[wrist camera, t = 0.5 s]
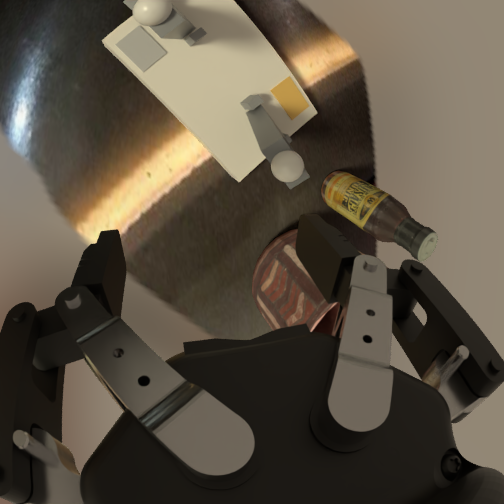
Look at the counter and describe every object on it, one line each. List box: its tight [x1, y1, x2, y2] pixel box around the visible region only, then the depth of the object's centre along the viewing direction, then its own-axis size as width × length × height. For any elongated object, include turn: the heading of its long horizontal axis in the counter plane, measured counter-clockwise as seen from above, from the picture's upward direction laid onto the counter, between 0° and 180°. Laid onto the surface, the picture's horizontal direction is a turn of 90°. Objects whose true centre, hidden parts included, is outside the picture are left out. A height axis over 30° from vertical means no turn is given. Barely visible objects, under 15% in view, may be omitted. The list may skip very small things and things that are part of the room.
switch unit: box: [102, 0, 317, 182], centre depth 26 cm, size 14×24×5 cm, turn 38°
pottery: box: [252, 229, 389, 335], centre depth 41 cm, size 18×18×18 cm
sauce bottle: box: [321, 171, 438, 261], centre depth 36 cm, size 7×6×20 cm
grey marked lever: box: [124, 0, 196, 39], centre depth 16 cm, size 3×4×14 cm, turn 39°
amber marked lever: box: [246, 104, 310, 189], centre depth 26 cm, size 3×4×14 cm, turn 39°
